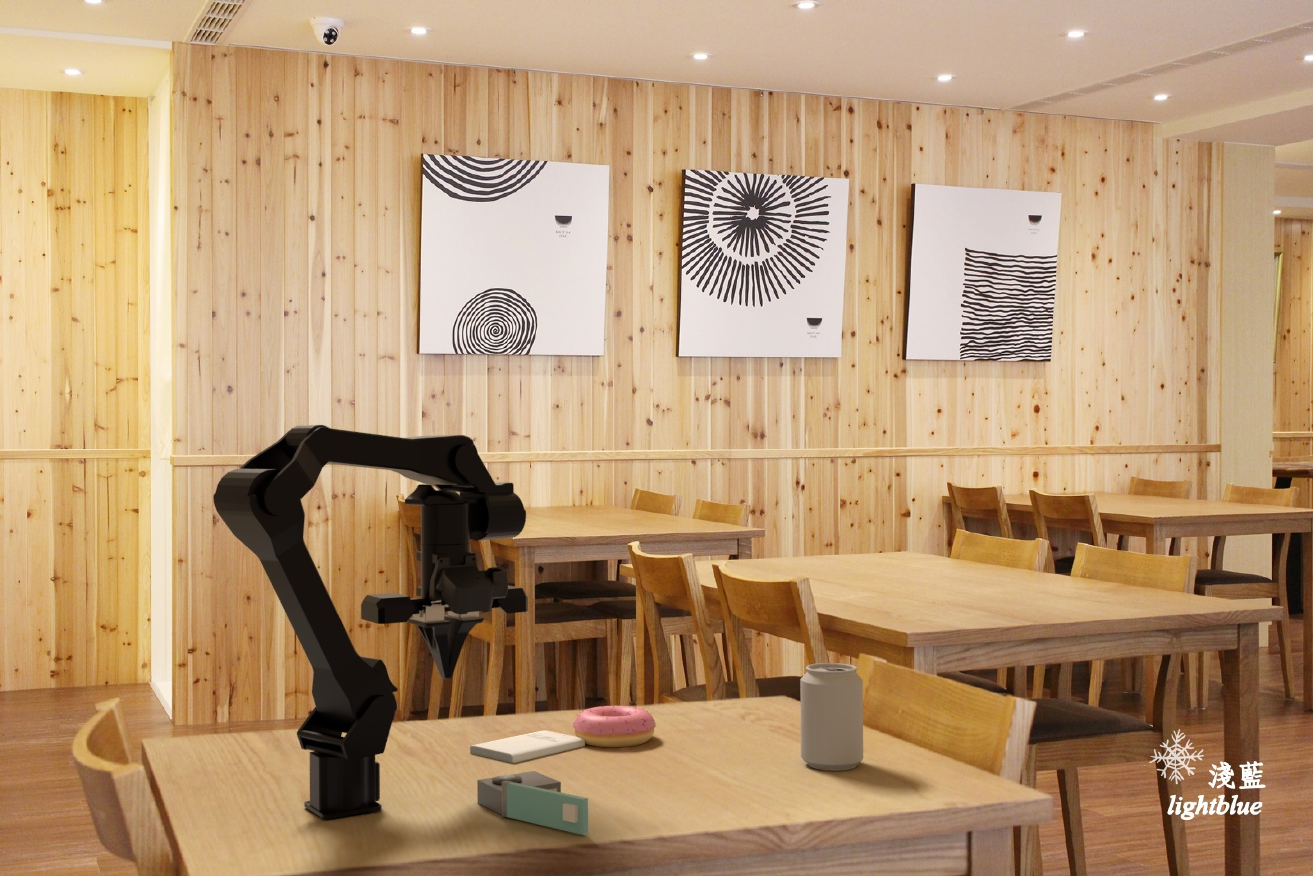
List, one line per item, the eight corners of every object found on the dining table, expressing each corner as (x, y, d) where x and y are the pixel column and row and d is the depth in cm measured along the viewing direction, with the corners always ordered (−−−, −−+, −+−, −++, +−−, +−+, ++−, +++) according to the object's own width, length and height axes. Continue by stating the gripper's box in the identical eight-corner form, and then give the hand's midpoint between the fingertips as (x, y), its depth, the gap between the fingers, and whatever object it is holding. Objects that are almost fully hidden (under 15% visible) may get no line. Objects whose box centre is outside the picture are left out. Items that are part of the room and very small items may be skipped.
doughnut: (654, 731, 182) (654, 701, 182) (657, 750, 171) (657, 717, 171) (574, 732, 181) (574, 702, 181) (571, 751, 170) (571, 718, 170)
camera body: (502, 815, 140) (502, 787, 140) (477, 803, 145) (477, 775, 145) (560, 805, 144) (560, 777, 144) (534, 793, 149) (534, 766, 149)
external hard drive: (469, 757, 169) (542, 740, 178) (512, 767, 163) (585, 749, 173) (469, 744, 169) (542, 728, 178) (512, 754, 163) (585, 737, 173)
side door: (497, 816, 139) (497, 783, 139) (506, 813, 140) (506, 780, 140) (580, 836, 132) (579, 800, 132) (589, 833, 133) (588, 797, 133)
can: (875, 764, 162) (874, 665, 162) (839, 775, 156) (838, 673, 156) (825, 754, 167) (824, 658, 167) (788, 765, 161) (787, 666, 162)
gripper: (397, 552, 142) (398, 698, 142) (550, 543, 153) (551, 680, 153) (358, 545, 152) (359, 683, 152) (505, 538, 162) (506, 667, 162)
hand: (446, 678), depth 154 cm, fingers closed
